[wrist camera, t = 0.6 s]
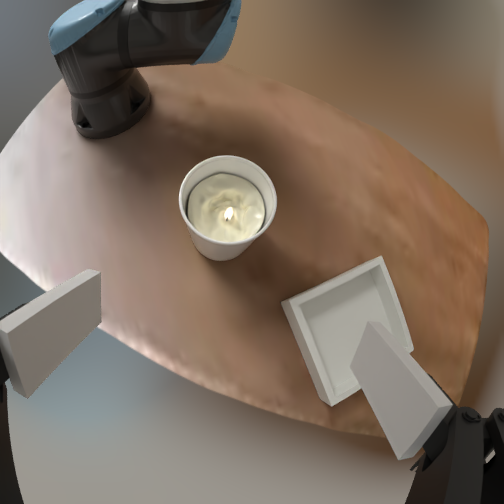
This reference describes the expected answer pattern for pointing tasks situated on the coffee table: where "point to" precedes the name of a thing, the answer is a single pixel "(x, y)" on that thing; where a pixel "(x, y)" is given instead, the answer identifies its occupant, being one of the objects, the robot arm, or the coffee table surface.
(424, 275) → the coffee table surface
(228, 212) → the candle holder
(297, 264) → the coffee table surface
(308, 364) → the lipped tray
